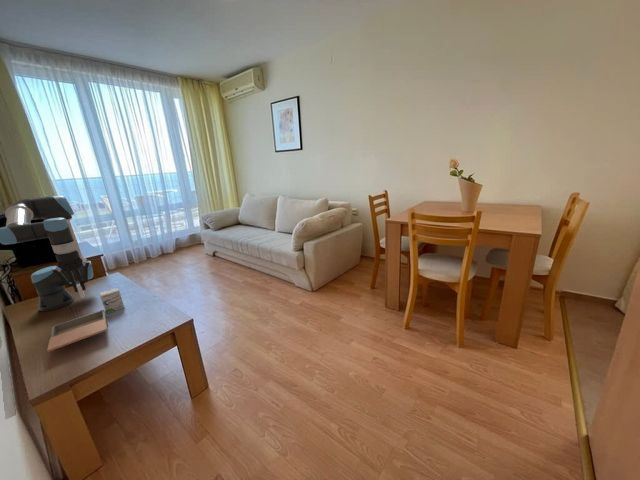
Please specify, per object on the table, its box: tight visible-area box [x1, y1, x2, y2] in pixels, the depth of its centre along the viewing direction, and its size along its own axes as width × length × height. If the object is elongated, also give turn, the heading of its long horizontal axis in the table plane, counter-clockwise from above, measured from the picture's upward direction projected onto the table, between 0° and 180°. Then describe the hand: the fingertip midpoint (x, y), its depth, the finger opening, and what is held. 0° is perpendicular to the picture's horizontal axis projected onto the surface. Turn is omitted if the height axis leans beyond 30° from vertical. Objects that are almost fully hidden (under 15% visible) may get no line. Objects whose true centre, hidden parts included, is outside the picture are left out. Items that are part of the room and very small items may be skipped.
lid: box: [46, 319, 108, 353], centre depth 119 cm, size 13×20×1 cm, turn 133°
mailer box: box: [50, 309, 109, 338], centre depth 129 cm, size 13×20×4 cm, turn 133°
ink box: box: [99, 287, 125, 314], centre depth 146 cm, size 8×5×12 cm, turn 135°
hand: (83, 296), depth 124 cm, fingers closed
